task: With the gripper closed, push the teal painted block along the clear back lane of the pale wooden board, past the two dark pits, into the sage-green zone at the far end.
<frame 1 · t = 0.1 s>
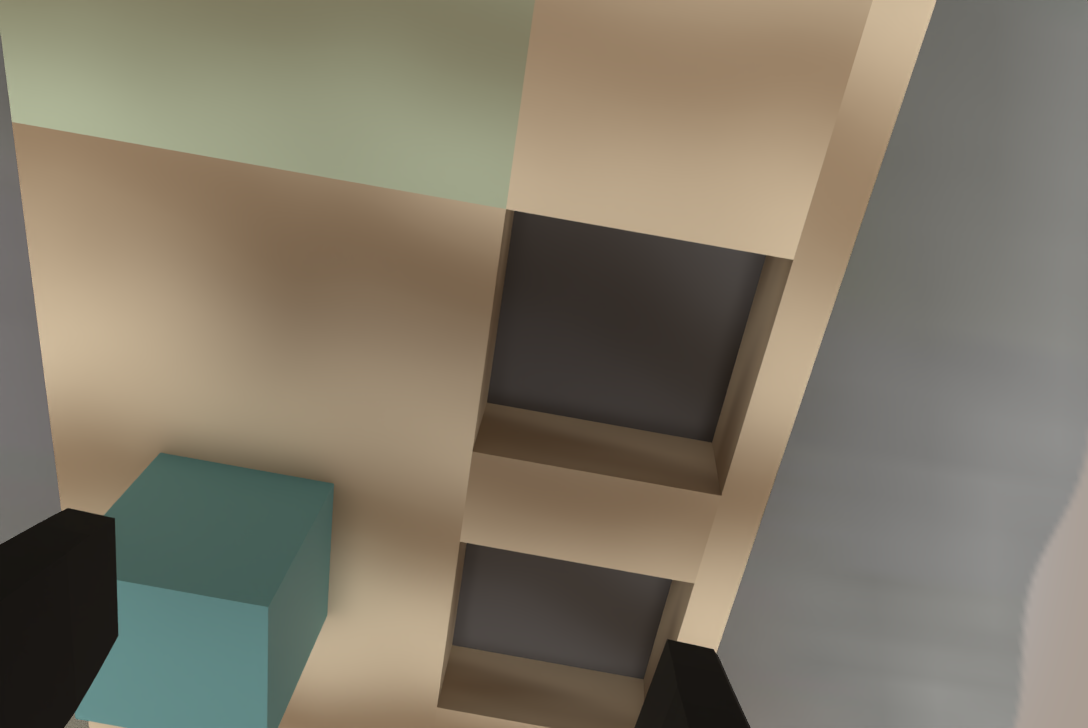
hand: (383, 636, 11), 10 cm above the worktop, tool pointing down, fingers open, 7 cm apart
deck: (428, 385, 21), on the worktop
block: (247, 537, 20), point 2 cm above the worktop, touching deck
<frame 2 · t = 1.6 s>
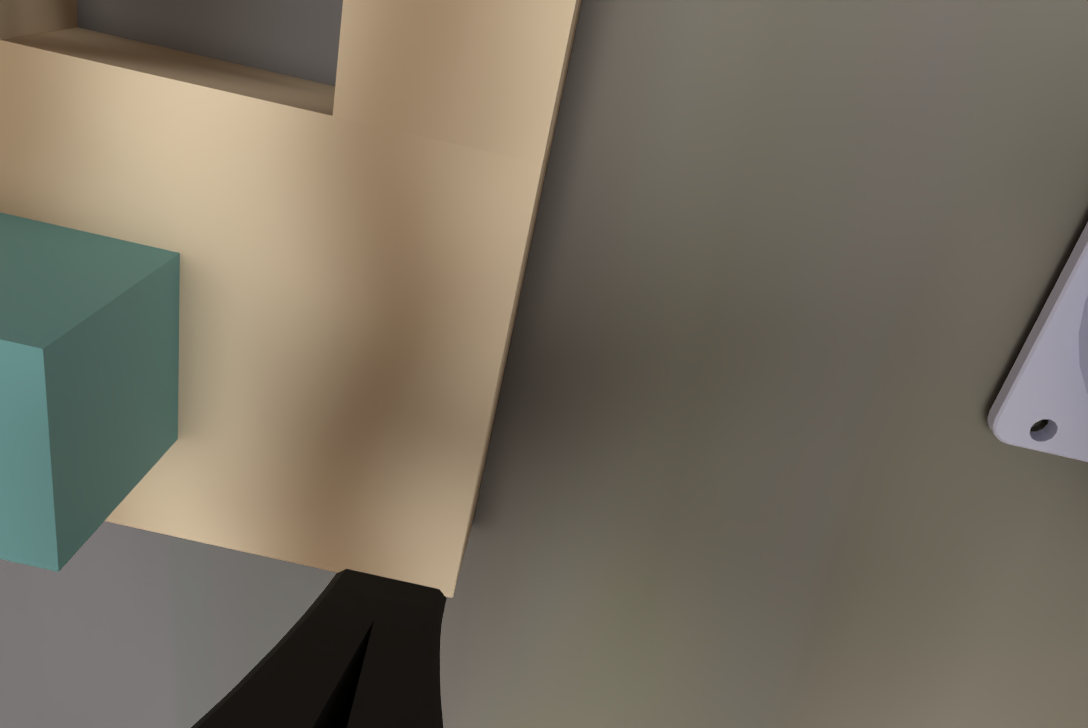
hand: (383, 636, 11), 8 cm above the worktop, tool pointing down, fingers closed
block: (74, 327, 16), point 2 cm above the worktop, touching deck
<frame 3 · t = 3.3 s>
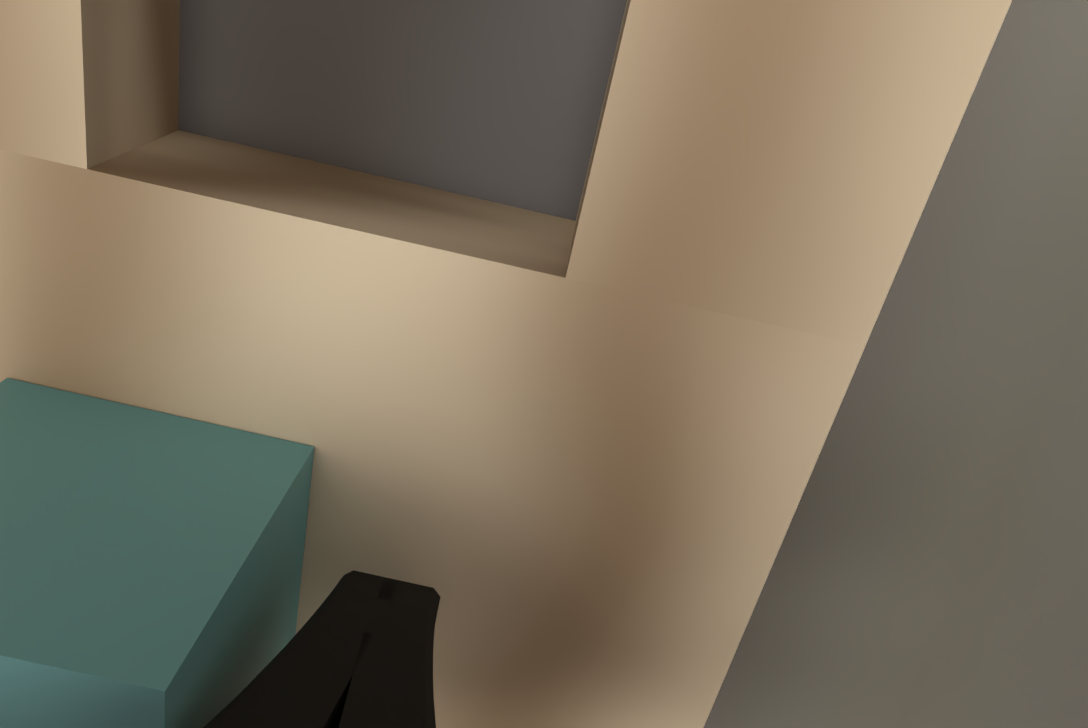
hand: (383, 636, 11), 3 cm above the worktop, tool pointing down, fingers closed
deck: (18, 189, 12), on the worktop
block: (160, 534, 12), point 3 cm above the worktop, touching gripper
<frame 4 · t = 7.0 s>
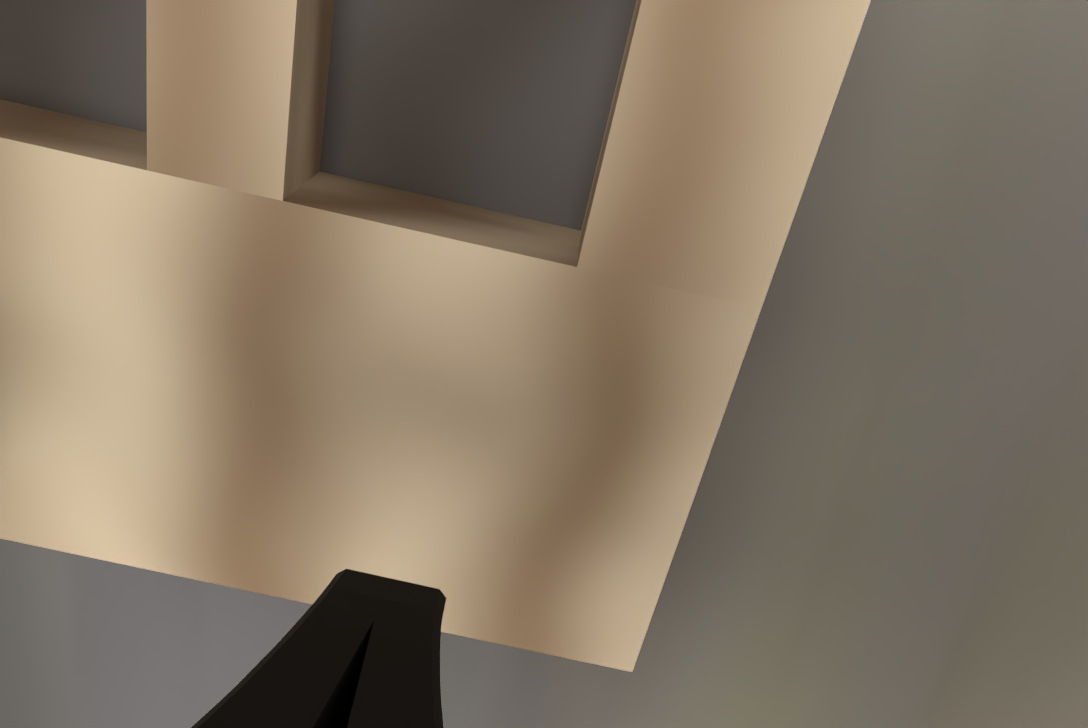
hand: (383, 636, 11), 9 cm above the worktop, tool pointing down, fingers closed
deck: (203, 209, 18), on the worktop
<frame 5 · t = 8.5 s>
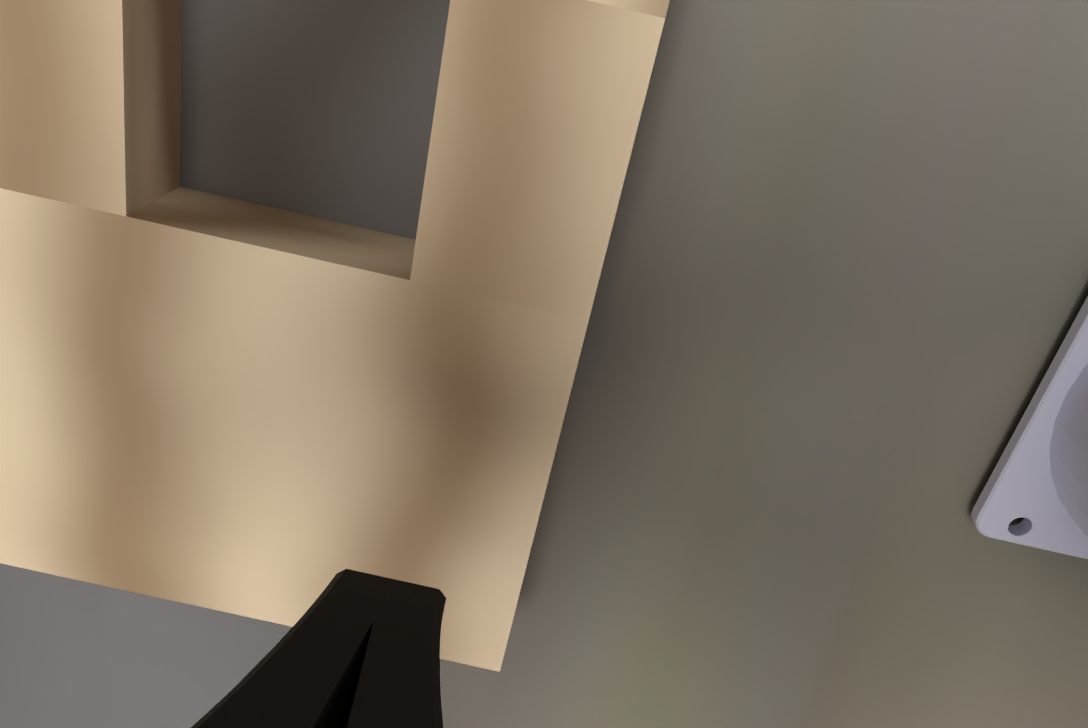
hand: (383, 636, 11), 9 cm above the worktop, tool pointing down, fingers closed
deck: (75, 222, 19), on the worktop
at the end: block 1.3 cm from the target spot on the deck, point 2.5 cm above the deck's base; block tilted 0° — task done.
